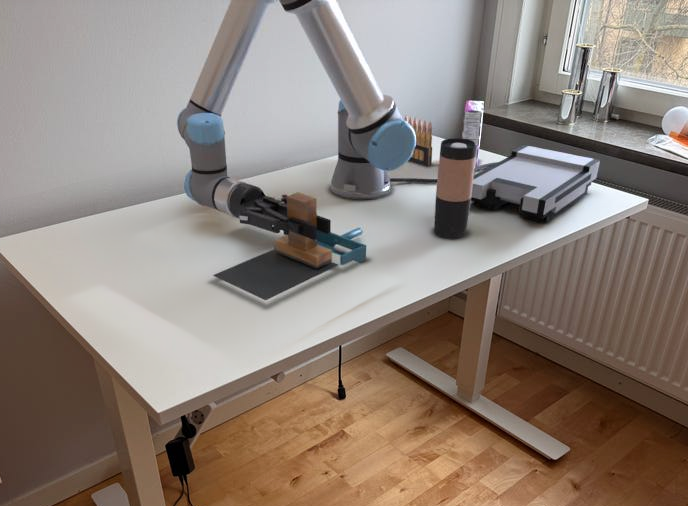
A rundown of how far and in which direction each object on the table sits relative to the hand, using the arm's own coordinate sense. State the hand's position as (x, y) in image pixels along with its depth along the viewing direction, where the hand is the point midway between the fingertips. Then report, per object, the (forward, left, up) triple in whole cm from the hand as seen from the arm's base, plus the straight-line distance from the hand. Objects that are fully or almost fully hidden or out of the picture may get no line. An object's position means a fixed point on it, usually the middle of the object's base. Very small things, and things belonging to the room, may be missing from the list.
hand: (322, 229), depth 135 cm
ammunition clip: (-51, -56, -9) cm, 76 cm away
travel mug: (-34, -8, -9) cm, 36 cm away
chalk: (-7, -6, -8) cm, 13 cm away
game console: (-62, -18, -9) cm, 66 cm away
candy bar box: (-63, -47, -9) cm, 79 cm away
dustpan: (-7, -10, -9) cm, 15 cm away
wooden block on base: (+2, -5, -7) cm, 9 cm away
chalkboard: (+9, -2, -9) cm, 13 cm away
